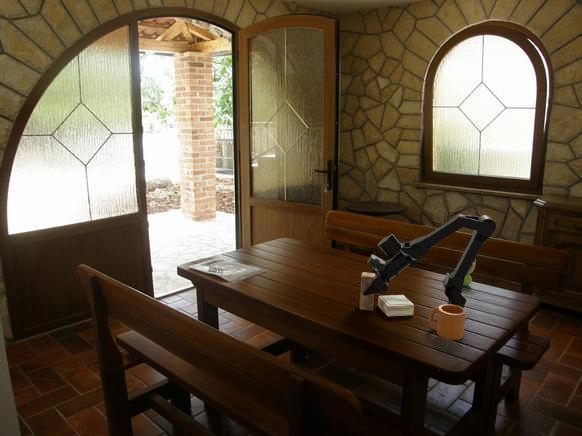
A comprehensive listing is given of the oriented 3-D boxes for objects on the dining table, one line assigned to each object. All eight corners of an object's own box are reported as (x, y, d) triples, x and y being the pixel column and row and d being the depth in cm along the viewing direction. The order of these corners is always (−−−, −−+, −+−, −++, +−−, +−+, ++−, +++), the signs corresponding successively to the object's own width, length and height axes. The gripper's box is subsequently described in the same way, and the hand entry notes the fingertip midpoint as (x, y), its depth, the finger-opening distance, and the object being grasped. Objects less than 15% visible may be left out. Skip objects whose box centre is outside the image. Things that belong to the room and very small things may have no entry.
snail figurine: (474, 288, 205) (477, 261, 203) (458, 286, 207) (461, 260, 204) (472, 284, 211) (475, 258, 208) (457, 282, 212) (459, 256, 209)
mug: (436, 322, 170) (439, 299, 168) (468, 334, 161) (471, 309, 159) (422, 330, 164) (425, 305, 162) (455, 342, 155) (457, 317, 153)
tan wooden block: (373, 305, 184) (375, 273, 181) (372, 310, 179) (375, 277, 176) (360, 304, 185) (362, 271, 182) (359, 309, 180) (361, 276, 177)
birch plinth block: (413, 315, 176) (414, 304, 175) (387, 316, 174) (388, 305, 173) (402, 304, 186) (403, 294, 185) (377, 305, 184) (378, 295, 183)
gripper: (381, 242, 185) (351, 267, 189) (380, 256, 167) (347, 282, 172) (400, 263, 185) (370, 287, 190) (402, 279, 167) (368, 305, 172)
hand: (364, 290), depth 181 cm, fingers open, 9 cm apart
